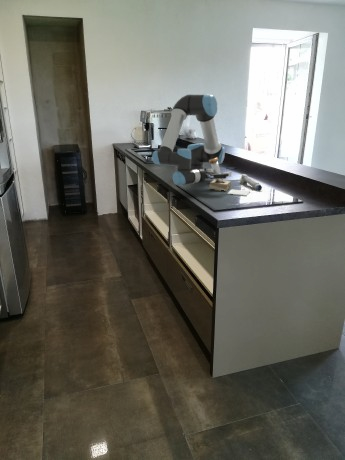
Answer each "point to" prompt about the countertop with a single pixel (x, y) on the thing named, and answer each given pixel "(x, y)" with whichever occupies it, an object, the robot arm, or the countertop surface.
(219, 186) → the bore block
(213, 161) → the steel plug
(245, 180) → the toothbrush head
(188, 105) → the robot arm
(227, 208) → the countertop surface
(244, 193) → the rubber mat
